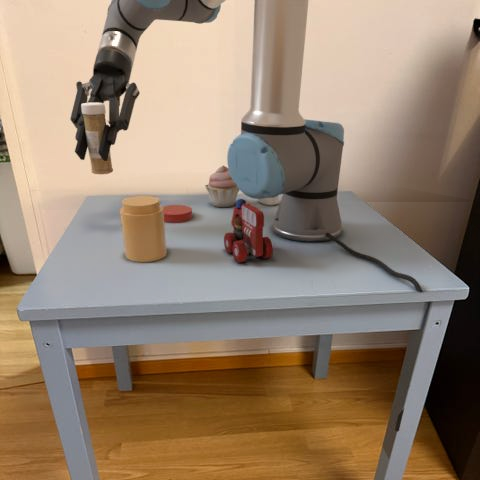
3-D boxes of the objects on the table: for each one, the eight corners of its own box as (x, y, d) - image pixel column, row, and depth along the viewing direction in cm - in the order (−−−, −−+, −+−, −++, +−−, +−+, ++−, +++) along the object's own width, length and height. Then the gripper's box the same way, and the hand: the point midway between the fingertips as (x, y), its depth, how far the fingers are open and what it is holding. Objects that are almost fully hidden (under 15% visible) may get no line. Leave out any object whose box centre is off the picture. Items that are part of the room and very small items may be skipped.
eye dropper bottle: (272, 199, 124) (274, 153, 118) (279, 205, 119) (281, 158, 113) (257, 200, 123) (258, 154, 117) (263, 206, 118) (264, 158, 112)
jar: (175, 253, 90) (171, 200, 84) (143, 265, 84) (137, 209, 79) (148, 243, 94) (143, 192, 89) (117, 254, 89) (109, 201, 83)
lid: (164, 211, 114) (164, 203, 113) (196, 213, 113) (196, 205, 112) (153, 221, 107) (152, 213, 106) (186, 223, 106) (186, 215, 105)
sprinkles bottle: (117, 172, 97) (108, 103, 90) (97, 176, 94) (87, 104, 87) (106, 169, 100) (97, 101, 93) (87, 172, 97) (76, 102, 90)
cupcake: (213, 211, 114) (212, 170, 109) (200, 201, 122) (199, 163, 117) (246, 207, 118) (247, 167, 113) (232, 198, 125) (232, 160, 120)
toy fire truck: (251, 242, 96) (252, 192, 90) (276, 263, 86) (279, 209, 80) (219, 246, 93) (219, 195, 88) (242, 268, 83) (243, 213, 78)
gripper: (68, 46, 95) (41, 142, 89) (147, 47, 92) (124, 146, 87) (85, 74, 102) (60, 165, 96) (158, 76, 99) (138, 169, 94)
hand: (91, 156), depth 92 cm, fingers closed on sprinkles bottle, 4 cm apart
